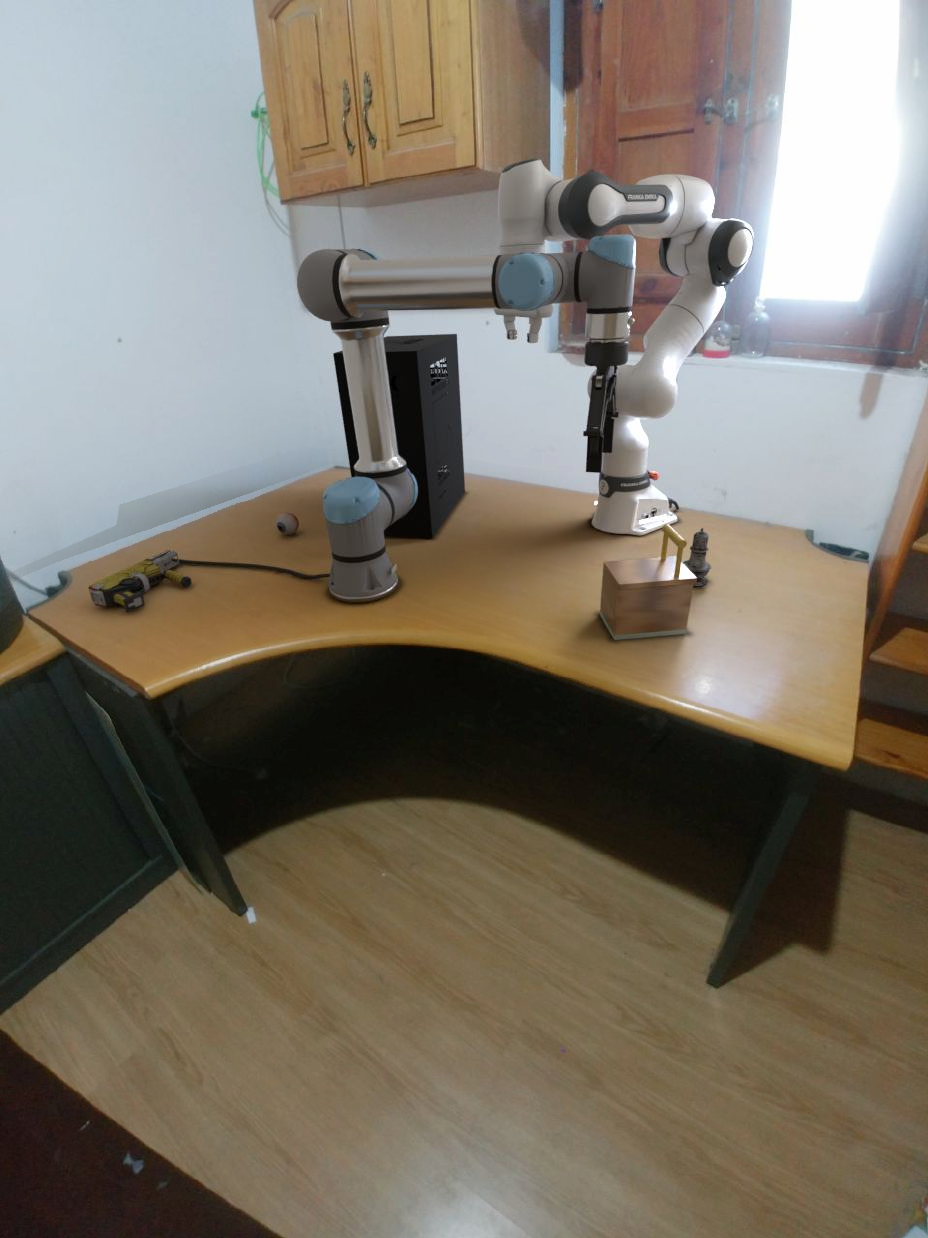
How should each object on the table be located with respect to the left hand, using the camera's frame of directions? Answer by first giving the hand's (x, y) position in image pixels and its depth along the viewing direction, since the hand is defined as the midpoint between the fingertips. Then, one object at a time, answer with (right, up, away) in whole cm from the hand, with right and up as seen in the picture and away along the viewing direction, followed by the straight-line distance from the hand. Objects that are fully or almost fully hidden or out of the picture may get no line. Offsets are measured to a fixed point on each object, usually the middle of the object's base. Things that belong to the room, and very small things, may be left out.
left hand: (599, 461), depth 115 cm
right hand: (-14, +27, +9) cm, 32 cm away
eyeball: (-74, -7, +50) cm, 89 cm away
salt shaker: (+23, -22, +14) cm, 35 cm away
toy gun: (-97, -23, +24) cm, 103 cm away
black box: (-40, +1, +60) cm, 72 cm away
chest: (+8, -31, 0) cm, 32 cm away
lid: (+8, -22, -5) cm, 24 cm away
